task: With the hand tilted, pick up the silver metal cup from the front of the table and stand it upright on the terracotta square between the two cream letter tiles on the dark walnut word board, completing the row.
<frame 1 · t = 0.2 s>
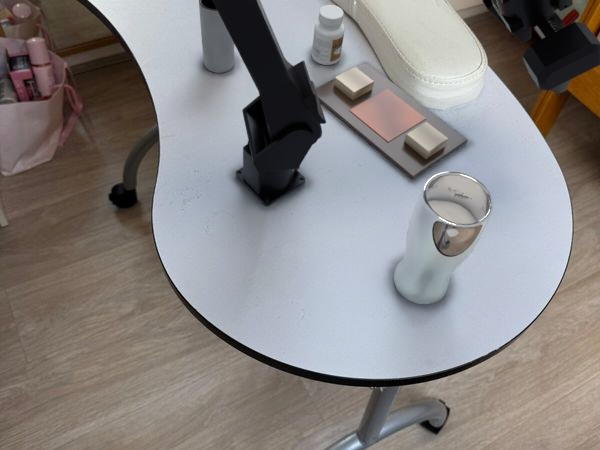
hand: (543, 64, 67), 15 cm above the table, tool tilted 35°, fingers open, 9 cm apart
silver metal cup: (419, 282, 66), on the table
pill bottle: (325, 57, 89), on the table
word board: (386, 117, 82), on the table
light grey cylinder: (219, 64, 86), on the table
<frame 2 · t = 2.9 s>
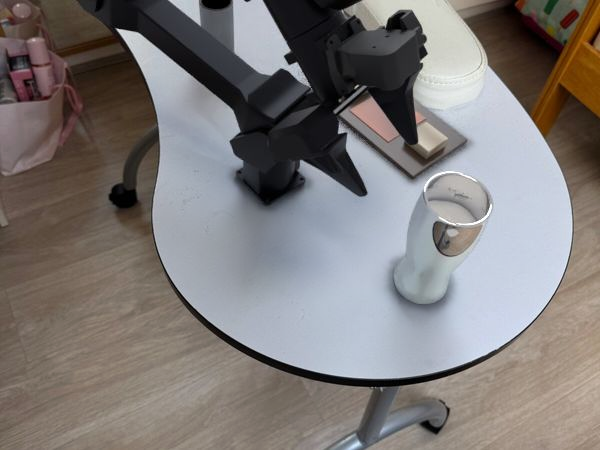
hand: (389, 168, 58), 13 cm above the table, tool tilted 45°, fingers open, 9 cm apart
nothing on the table moved.
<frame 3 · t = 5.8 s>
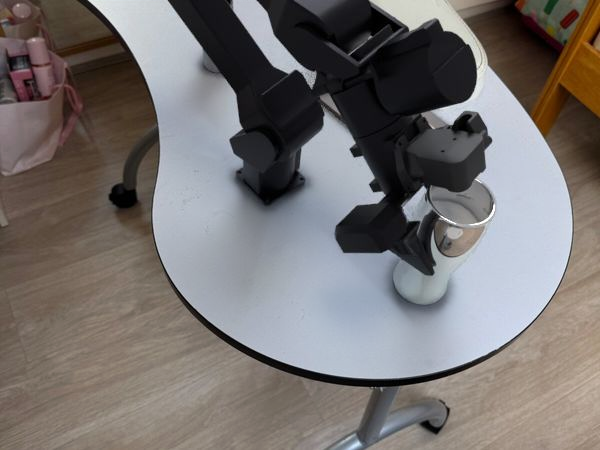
hand: (448, 253, 60), 7 cm above the table, tool tilted 45°, fingers closed on silver metal cup, 6 cm apart
silver metal cup: (418, 282, 66), on the table, touching gripper
everything else where it was.
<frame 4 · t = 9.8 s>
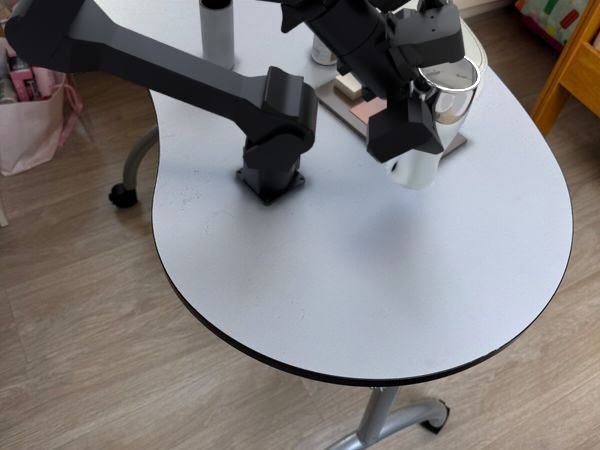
hand: (438, 129, 65), 11 cm above the table, tool tilted 45°, fingers closed on silver metal cup, 6 cm apart
silver metal cup: (410, 172, 70), point 4 cm above the table, touching gripper
everything else where it was.
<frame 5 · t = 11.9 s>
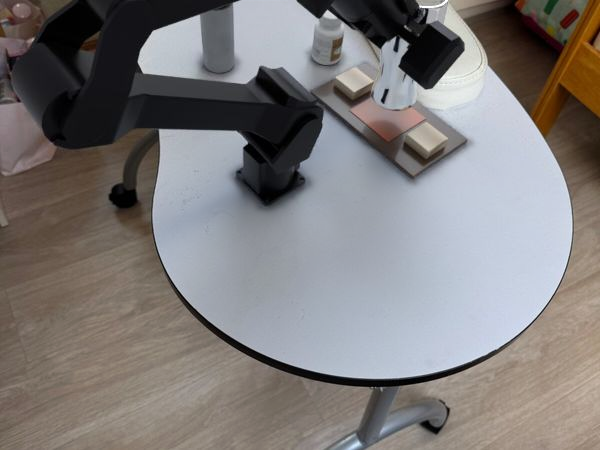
hand: (412, 48, 73), 11 cm above the table, tool tilted 45°, fingers closed on silver metal cup, 6 cm apart
silver metal cup: (392, 97, 78), point 4 cm above the table, touching gripper
everything else where it was.
when the fingers open (8 cm above the table, at t = 13.6 s): silver metal cup stays where it is, resting on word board.
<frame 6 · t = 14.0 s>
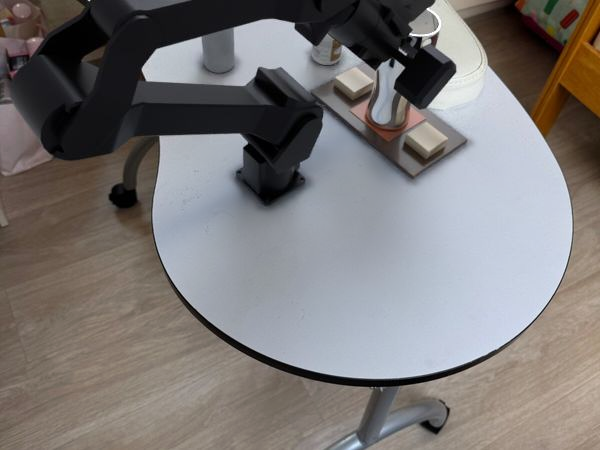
hand: (406, 66, 76), 8 cm above the table, tool tilted 45°, fingers open, 9 cm apart
silver metal cup: (386, 116, 81), point 1 cm above the table, touching gripper, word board
everything else where it was.
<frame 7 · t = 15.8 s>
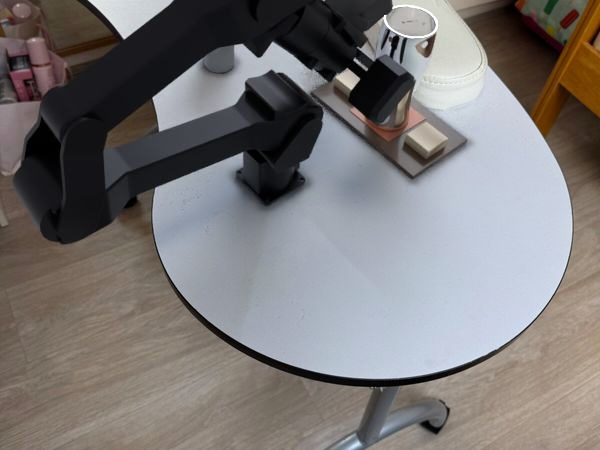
hand: (368, 76, 72), 10 cm above the table, tool tilted 45°, fingers open, 9 cm apart
silver metal cup: (386, 116, 81), point 1 cm above the table, touching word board
everything else where it was.
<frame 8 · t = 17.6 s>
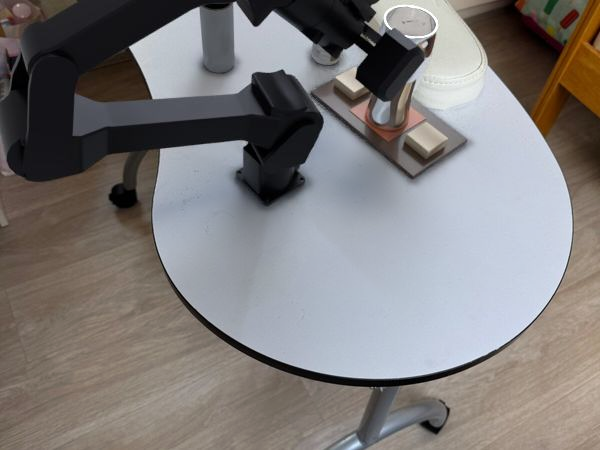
hand: (375, 55, 69), 13 cm above the table, tool tilted 45°, fingers open, 9 cm apart
nothing on the table moved.
at the end: silver metal cup 0.3 cm off-centre on the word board, point 0.5 cm above the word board's base; silver metal cup tilted 0°; the gripper is holding nothing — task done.
